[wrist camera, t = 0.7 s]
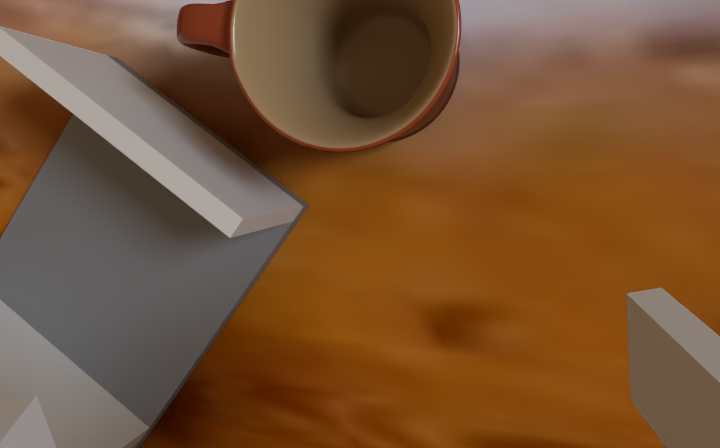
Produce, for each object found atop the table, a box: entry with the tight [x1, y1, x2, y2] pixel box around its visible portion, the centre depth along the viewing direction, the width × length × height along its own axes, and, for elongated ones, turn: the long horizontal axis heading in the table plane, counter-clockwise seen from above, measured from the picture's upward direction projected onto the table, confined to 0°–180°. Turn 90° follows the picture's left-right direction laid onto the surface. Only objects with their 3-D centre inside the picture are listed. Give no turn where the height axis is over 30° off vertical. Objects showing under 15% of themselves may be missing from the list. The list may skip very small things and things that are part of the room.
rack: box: [0, 26, 309, 448], centre depth 35 cm, size 16×33×9 cm, turn 144°
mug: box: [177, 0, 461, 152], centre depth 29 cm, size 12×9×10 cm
